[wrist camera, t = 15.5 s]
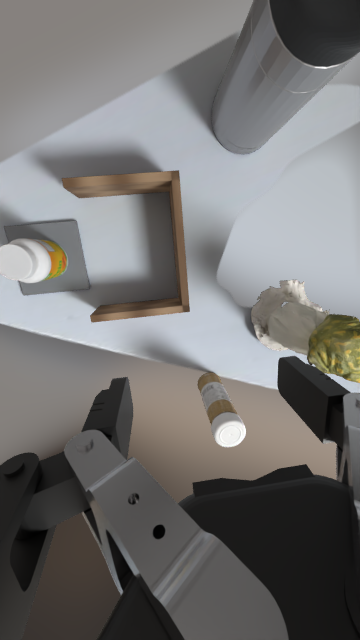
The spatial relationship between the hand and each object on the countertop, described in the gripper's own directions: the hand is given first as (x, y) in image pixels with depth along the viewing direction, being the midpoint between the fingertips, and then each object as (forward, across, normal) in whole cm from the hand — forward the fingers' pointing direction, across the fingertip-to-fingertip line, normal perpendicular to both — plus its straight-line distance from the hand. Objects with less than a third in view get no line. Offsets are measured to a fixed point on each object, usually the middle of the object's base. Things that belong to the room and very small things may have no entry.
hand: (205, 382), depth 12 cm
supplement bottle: (+28, +18, -7) cm, 34 cm away
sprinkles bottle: (+28, -6, +18) cm, 34 cm away
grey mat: (+28, +18, -7) cm, 34 cm away
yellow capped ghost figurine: (+28, -20, +6) cm, 35 cm away
